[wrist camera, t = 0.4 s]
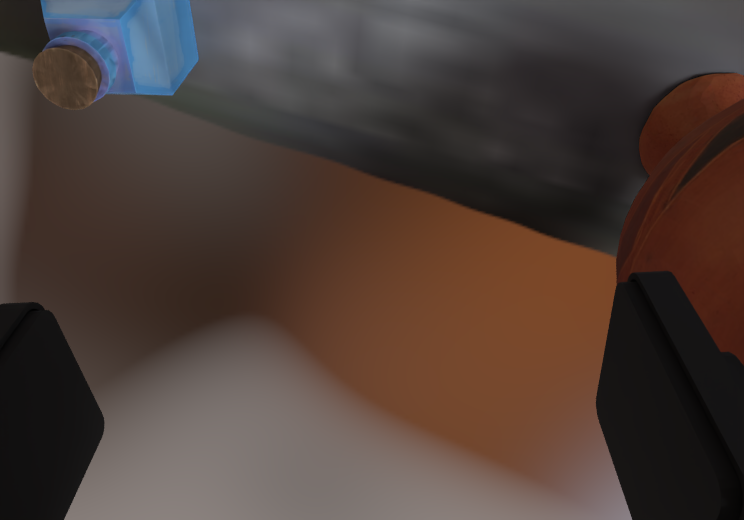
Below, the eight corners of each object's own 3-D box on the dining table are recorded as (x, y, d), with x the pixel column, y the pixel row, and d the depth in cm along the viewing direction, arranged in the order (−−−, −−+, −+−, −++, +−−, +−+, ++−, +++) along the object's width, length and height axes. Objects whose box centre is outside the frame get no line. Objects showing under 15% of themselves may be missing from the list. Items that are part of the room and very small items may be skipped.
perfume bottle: (198, 59, 43) (140, 138, 33) (108, 57, 43) (24, 135, 33) (182, -40, 39) (112, 16, 29) (83, -42, 39) (-19, 14, 29)
